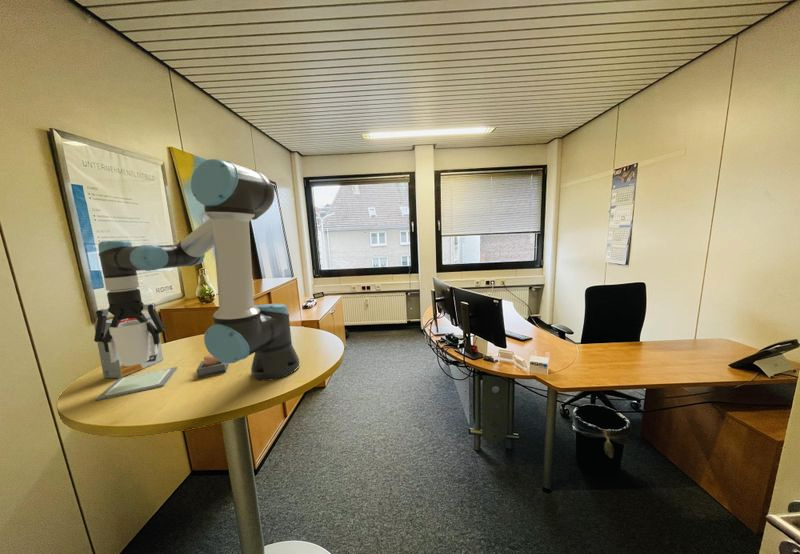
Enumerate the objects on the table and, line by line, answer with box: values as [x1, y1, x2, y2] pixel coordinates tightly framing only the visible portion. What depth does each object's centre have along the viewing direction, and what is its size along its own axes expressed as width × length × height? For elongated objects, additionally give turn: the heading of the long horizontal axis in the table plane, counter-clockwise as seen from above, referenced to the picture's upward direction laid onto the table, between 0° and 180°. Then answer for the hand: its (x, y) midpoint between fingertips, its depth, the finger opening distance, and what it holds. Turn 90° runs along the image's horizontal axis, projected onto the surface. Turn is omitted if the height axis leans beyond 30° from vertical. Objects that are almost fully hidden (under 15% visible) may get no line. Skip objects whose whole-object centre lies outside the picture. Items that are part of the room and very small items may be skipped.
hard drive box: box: [93, 311, 164, 379], centre depth 104 cm, size 16×8×20 cm, turn 171°
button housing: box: [196, 360, 229, 379], centre depth 99 cm, size 8×8×3 cm
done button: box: [203, 353, 221, 367], centre depth 98 cm, size 5×5×3 cm
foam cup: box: [109, 320, 149, 366], centre depth 91 cm, size 10×9×13 cm
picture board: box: [94, 366, 178, 401], centre depth 93 cm, size 15×16×1 cm
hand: (135, 357), depth 92 cm, fingers closed on foam cup, 9 cm apart
